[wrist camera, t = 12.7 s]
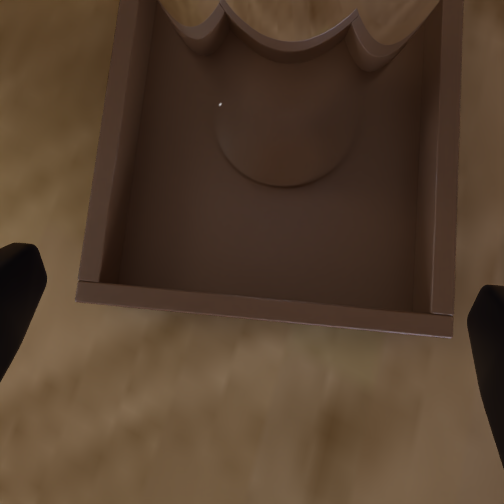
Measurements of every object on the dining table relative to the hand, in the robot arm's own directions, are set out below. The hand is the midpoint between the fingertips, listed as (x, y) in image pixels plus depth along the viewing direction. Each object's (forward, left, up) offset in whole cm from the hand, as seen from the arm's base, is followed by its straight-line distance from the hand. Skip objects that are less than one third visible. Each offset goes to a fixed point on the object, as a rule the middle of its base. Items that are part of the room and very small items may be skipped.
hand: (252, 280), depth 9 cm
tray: (+5, -6, -9) cm, 12 cm away
